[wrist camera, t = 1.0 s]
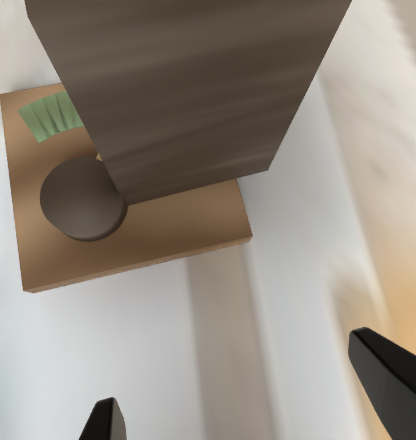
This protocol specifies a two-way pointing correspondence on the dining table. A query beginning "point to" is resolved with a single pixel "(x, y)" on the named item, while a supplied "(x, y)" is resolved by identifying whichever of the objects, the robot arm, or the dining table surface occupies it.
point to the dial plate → (136, 214)
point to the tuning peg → (174, 95)
